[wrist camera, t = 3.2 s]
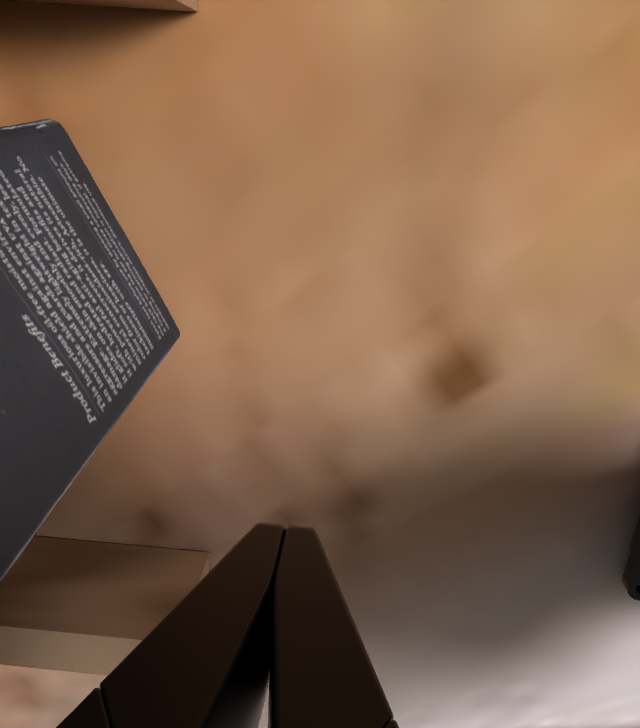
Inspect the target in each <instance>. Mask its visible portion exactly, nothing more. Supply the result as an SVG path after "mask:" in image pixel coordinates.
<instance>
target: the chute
mask: <svg viewBox="0 0 640 728" xmlns="http://www.w3.org/2000/svg"><path fill="white" fill-rule="evenodd" d="M15 1H31V2H47V3H64V4H80V5H96V6H112V7H129V8H145V9H161V10H178V11H194V12H198V0H15ZM208 573H209V552H198V551H188V550H177V549H166V548H156V547H145V546H135V545H124V544H113V543H103V542H92V541H81V540H71V539H60V538H49V537H39V536H33V538H32V539H31V541H30V542H29V543H28V545H27V546H26V547H25V549H24V550H23V552H22V553H21V554H20V556H19V557H18V559H17V560H16V561H15V563H14V564H13V565H12V567H11V568H10V569H9V571H8V572H7V574H6V575H5V576H4V578H3V579H2V580H1V582H0V664H2V665H12V666H22V667H31V668H41V669H51V670H61V671H71V672H80V673H90V674H100V675H109V674H110V673H111V672H112V671H113V670H114V669H115V668H116V667H117V666H118V665H119V664H120V663H121V662H122V661H123V660H124V659H125V658H126V657H127V656H128V655H129V654H130V653H131V651H132V650H133V649H134V648H135V647H136V646H137V645H138V644H139V643H140V642H141V641H142V640H143V639H144V638H145V637H146V636H147V635H148V634H149V633H150V632H151V631H152V630H153V629H154V628H155V627H156V626H157V625H158V624H159V623H160V622H161V621H162V620H163V619H164V618H165V617H166V616H167V615H168V614H169V613H170V612H171V611H172V610H173V609H174V607H175V606H176V605H177V604H178V603H179V602H180V601H181V600H182V599H183V598H184V597H185V596H186V595H187V594H188V593H189V592H190V591H191V590H192V589H193V588H194V587H195V586H196V585H197V584H198V583H199V582H200V581H201V580H202V579H203V578H204V577H205V576H206V575H207V574H208Z"/></svg>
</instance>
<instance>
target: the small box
mask: <svg viewBox="0 0 640 728" xmlns="http://www.w3.org/2000/svg"><path fill="white" fill-rule="evenodd" d="M179 336H180V331H179V329H178V328H177V326H176V324H175V322H174V320H173V318H172V316H171V315H170V313H169V311H168V309H167V307H166V306H165V304H164V302H163V300H162V298H161V296H160V295H159V293H158V291H157V289H156V287H155V286H154V284H153V282H152V281H151V279H150V277H149V276H148V274H147V272H146V270H145V268H144V267H143V265H142V263H141V261H140V259H139V258H138V256H137V254H136V253H135V251H134V249H133V247H132V245H131V244H130V242H129V240H128V238H127V236H126V235H125V233H124V231H123V230H122V228H121V226H120V224H119V223H118V221H117V219H116V218H115V216H114V214H113V213H112V211H111V209H110V207H109V206H108V204H107V202H106V200H105V199H104V197H103V195H102V194H101V192H100V190H99V188H98V187H97V185H96V183H95V181H94V180H93V178H92V176H91V174H90V172H89V170H88V169H87V167H86V165H85V164H84V162H83V160H82V159H81V157H80V155H79V153H78V151H77V150H76V148H75V146H74V145H73V143H72V141H71V139H70V137H69V136H68V134H67V132H66V131H65V130H64V128H63V127H62V126H61V124H60V123H59V122H56V121H54V120H52V119H45V120H39V121H35V122H30V123H22V124H18V125H13V126H4V127H0V582H1V580H2V579H3V578H4V576H5V575H6V574H7V572H8V571H9V569H10V568H11V567H12V565H13V564H14V563H15V561H16V560H17V559H18V557H19V556H20V554H21V553H22V552H23V550H24V549H25V547H26V546H27V545H28V543H29V542H30V541H31V539H32V538H33V536H34V535H35V534H36V532H37V531H38V529H39V528H40V527H41V525H42V524H43V522H44V521H45V520H46V518H47V517H48V515H49V514H50V513H51V511H52V510H53V508H54V507H55V506H56V504H57V503H58V502H59V500H60V499H61V498H62V496H63V495H64V494H65V492H66V491H67V489H68V488H69V487H70V485H71V484H72V483H73V481H74V480H75V478H76V477H77V476H78V474H79V473H80V471H81V470H82V469H83V467H84V466H85V465H86V463H87V462H88V461H89V459H90V458H91V456H92V455H93V454H94V452H95V451H96V449H97V448H98V447H99V445H100V444H101V442H102V441H103V439H104V438H105V437H106V435H107V434H108V433H109V431H110V430H111V429H112V428H113V426H114V425H115V424H116V422H117V421H118V420H119V418H120V417H121V415H122V414H123V413H124V411H125V410H126V409H127V407H128V406H129V404H130V403H131V402H132V400H133V399H134V398H135V396H136V395H137V394H138V392H139V391H140V389H141V388H142V387H143V385H144V384H145V383H146V382H147V380H148V379H149V377H150V376H151V375H152V373H153V372H154V371H155V370H156V368H157V367H158V366H159V364H160V363H161V362H162V360H163V359H164V358H165V356H166V355H167V353H168V352H169V351H170V349H171V348H172V346H173V345H174V343H175V342H176V341H177V339H178V338H179Z"/></svg>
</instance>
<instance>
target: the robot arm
mask: <svg viewBox="0 0 640 728" xmlns="http://www.w3.org/2000/svg"><path fill="white" fill-rule="evenodd" d="M630 552H631V555H630V557H629V560H628V563H627V566H626V569H625V572H624V575H623V579H622V582H623V584H624V586H625V588H626V590H627V592H628V594H629V596H630V597H632V598H633V599H635V600H639V601H640V585H638V584H640V518H639V521H638V524H637V527H636V530H635V533H634V535H633V538H632V541H631V544H630ZM268 683H269V703H268V728H399V727H398V724H397V722H396V721H395V720H393V713H392V711H391V708H390V706H389V704H388V701H387V699H386V697H385V694H384V692H383V689H382V687H381V685H380V682H379V680H378V678H377V675H376V673H375V670H374V668H373V666H372V663H371V661H370V659H369V656H368V654H367V651H366V649H365V647H364V644H363V642H362V640H361V637H360V635H359V632H358V630H357V628H356V625H355V623H354V621H353V618H352V616H351V613H350V611H349V609H348V606H347V604H346V602H345V599H344V597H343V594H342V592H341V590H340V587H339V585H338V582H337V580H336V578H335V575H334V573H333V571H332V568H331V566H330V563H329V561H328V559H327V556H326V554H325V552H324V549H323V547H322V544H321V542H320V540H319V537H318V535H317V533H316V531H315V529H313V528H311V527H303V526H292V525H291V526H288V527H287V528H286V530H285V527H284V526H283V525H281V524H271V523H258V524H256V525H255V526H254V527H253V528H252V529H251V530H250V531H249V532H248V533H247V534H246V535H245V536H244V537H243V538H242V539H241V540H240V541H239V542H238V543H237V544H236V545H235V546H234V547H233V548H232V549H231V550H230V551H229V552H228V553H227V554H226V555H225V556H224V557H223V558H222V559H221V560H220V561H219V562H218V564H217V565H216V566H215V567H214V568H213V569H212V570H211V571H210V572H209V573H208V574H207V575H206V576H205V577H204V578H203V579H202V580H201V581H200V582H199V583H198V584H197V585H196V586H195V587H194V588H193V589H192V590H191V591H190V592H189V593H188V594H187V595H186V596H185V597H184V598H183V599H182V600H181V601H180V602H179V603H178V604H177V605H176V606H175V607H174V609H173V610H172V611H171V612H170V613H169V614H168V615H167V616H166V617H165V618H164V619H163V620H162V621H161V622H160V623H159V624H158V625H157V626H156V627H155V628H154V629H153V630H152V631H151V632H150V633H149V634H148V635H147V636H146V637H145V638H144V639H143V640H142V641H141V642H140V643H139V644H138V645H137V646H136V647H135V648H134V649H133V650H132V651H131V653H130V654H129V655H128V656H127V657H126V658H125V659H124V660H123V661H122V662H121V663H120V664H119V665H118V666H117V667H116V668H115V669H114V670H113V671H112V672H111V673H110V674H109V675H108V676H107V677H106V678H105V679H104V680H103V681H102V682H101V684H100V689H99V688H95V689H94V690H93V691H92V692H91V693H90V694H89V695H88V696H87V697H86V698H85V699H84V700H83V701H82V702H81V703H80V704H79V705H78V706H77V707H76V708H75V709H74V710H73V711H72V712H71V713H70V714H69V715H68V716H67V717H66V718H65V719H64V720H63V721H62V722H61V723H60V724H59V725H58V726H57V727H56V728H258V724H259V720H260V717H261V713H262V709H263V705H264V701H265V697H266V692H267V688H268Z"/></svg>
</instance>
